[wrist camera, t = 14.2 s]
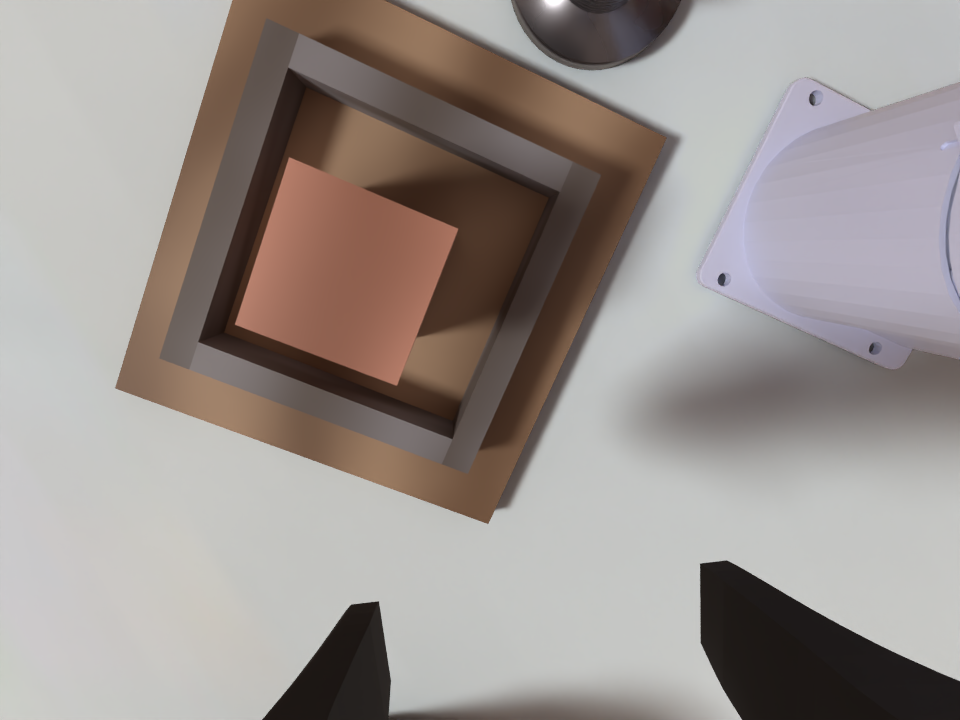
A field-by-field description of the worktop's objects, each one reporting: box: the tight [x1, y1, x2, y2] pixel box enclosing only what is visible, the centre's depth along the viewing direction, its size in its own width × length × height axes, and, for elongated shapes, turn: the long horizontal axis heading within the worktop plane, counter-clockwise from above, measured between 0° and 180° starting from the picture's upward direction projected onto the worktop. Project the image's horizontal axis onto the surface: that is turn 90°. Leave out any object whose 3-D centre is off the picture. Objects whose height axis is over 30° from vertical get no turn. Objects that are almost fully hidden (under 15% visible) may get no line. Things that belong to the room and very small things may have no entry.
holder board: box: [115, 0, 666, 524], centre depth 19 cm, size 15×16×3 cm
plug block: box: [235, 157, 458, 386], centre depth 16 cm, size 4×4×7 cm
